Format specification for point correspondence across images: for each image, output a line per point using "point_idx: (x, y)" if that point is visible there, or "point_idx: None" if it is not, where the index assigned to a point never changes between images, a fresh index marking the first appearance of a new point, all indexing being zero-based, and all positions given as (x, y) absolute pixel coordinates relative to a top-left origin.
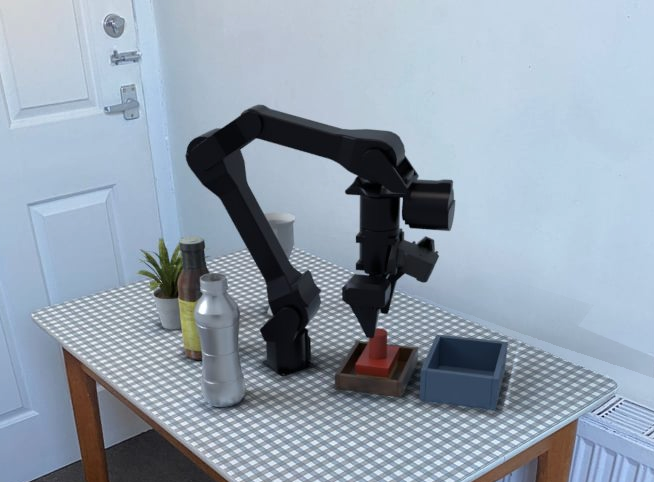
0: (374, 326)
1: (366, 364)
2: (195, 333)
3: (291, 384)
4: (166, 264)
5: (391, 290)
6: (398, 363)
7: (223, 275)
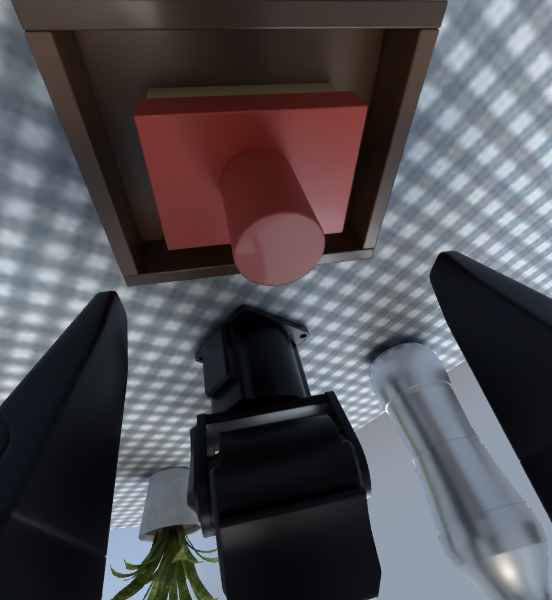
0: (531, 293)
1: (341, 200)
2: None
3: (326, 309)
4: (174, 591)
5: (56, 439)
6: (119, 90)
7: None
